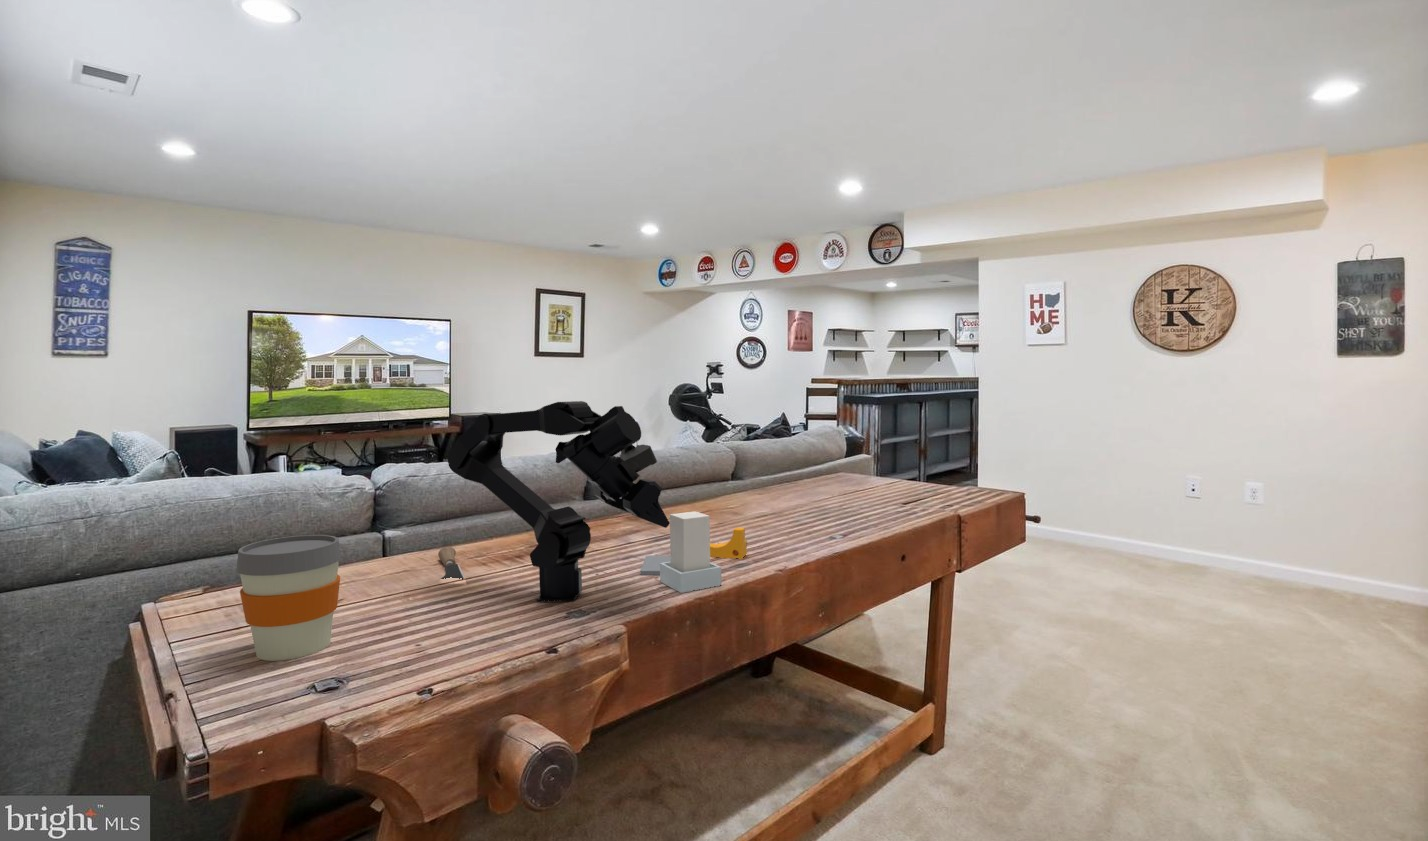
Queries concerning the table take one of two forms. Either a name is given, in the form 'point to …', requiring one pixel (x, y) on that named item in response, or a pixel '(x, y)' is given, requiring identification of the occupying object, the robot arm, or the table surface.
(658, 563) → the mat
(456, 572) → the hand tool
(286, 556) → the reusable coffee cup
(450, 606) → the table surface
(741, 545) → the pipe clamp
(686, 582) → the sleeve
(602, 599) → the table surface
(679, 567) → the tall block
